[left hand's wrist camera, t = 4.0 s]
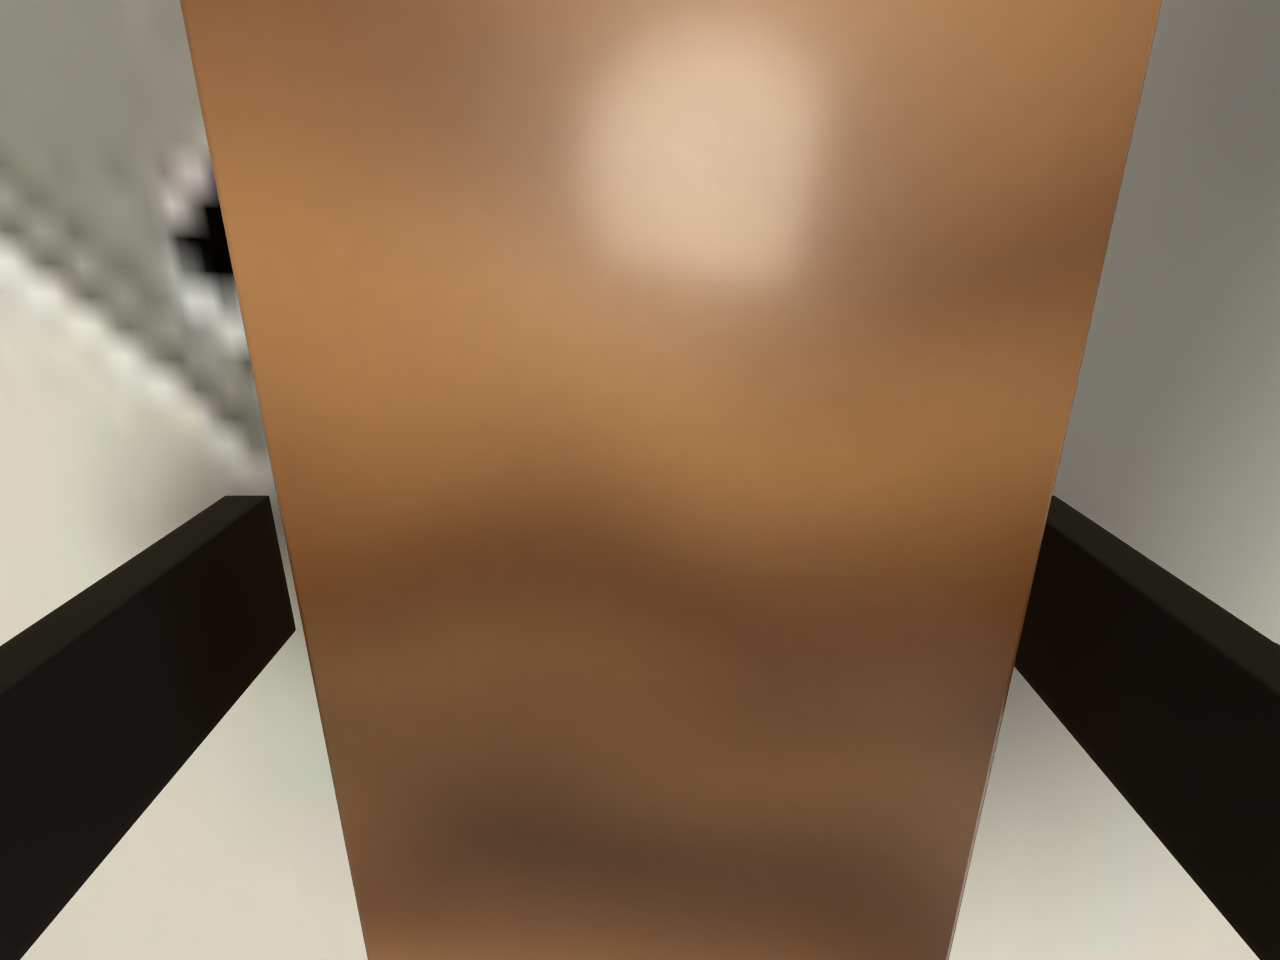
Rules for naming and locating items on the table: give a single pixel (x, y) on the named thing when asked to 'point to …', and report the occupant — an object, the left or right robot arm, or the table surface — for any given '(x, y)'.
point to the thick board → (665, 438)
